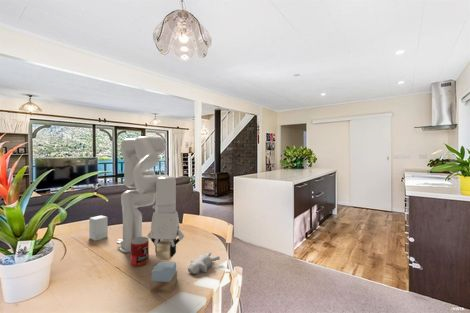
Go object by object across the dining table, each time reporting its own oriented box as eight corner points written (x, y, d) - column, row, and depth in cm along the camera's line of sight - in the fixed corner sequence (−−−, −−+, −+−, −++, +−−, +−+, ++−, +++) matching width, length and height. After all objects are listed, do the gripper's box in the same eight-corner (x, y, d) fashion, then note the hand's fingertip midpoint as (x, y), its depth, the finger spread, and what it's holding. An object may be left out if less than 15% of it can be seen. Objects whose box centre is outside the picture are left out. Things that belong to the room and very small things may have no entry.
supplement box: (108, 237, 139) (108, 216, 139) (95, 241, 133) (95, 219, 133) (101, 234, 143) (101, 214, 143) (88, 238, 137) (89, 217, 137)
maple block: (156, 259, 86) (156, 243, 86) (162, 254, 91) (162, 239, 91) (169, 260, 85) (169, 244, 85) (174, 254, 90) (174, 239, 90)
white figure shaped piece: (183, 262, 99) (207, 247, 111) (184, 273, 100) (207, 257, 112) (197, 269, 94) (221, 252, 105) (198, 280, 94) (222, 263, 106)
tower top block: (151, 281, 85) (151, 270, 85) (159, 271, 92) (159, 261, 92) (170, 281, 84) (170, 271, 84) (176, 272, 91) (176, 262, 91)
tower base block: (150, 293, 84) (150, 282, 84) (157, 281, 92) (157, 271, 92) (172, 292, 84) (172, 282, 84) (177, 280, 92) (177, 271, 92)
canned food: (137, 268, 101) (137, 244, 101) (127, 263, 106) (127, 240, 106) (152, 261, 108) (152, 238, 108) (141, 257, 112) (141, 235, 112)
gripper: (139, 210, 85) (139, 258, 85) (183, 211, 83) (183, 260, 83) (149, 205, 93) (149, 249, 93) (190, 207, 91) (189, 252, 91)
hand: (165, 254), depth 88 cm, fingers closed on maple block, 5 cm apart
